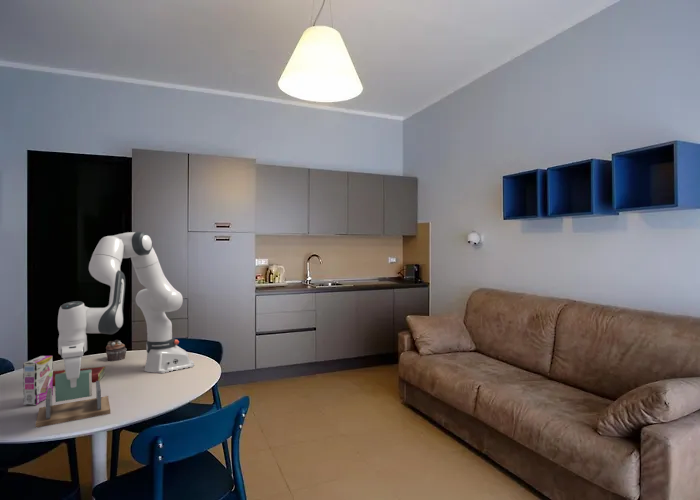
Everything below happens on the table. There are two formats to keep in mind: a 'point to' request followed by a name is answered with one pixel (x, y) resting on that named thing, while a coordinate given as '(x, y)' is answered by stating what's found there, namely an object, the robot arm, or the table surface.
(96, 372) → the hardcover book
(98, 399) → the bookends
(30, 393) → the candy bar box
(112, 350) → the cupcake
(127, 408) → the table surface
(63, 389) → the book
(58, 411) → the shelf board
